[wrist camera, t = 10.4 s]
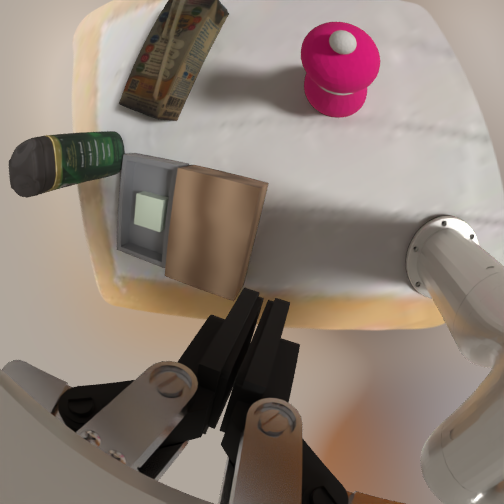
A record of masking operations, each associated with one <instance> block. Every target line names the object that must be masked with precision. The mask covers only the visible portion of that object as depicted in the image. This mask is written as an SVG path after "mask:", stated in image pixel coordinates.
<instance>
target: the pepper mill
mask: <svg viewBox="0 0 504 504" xmlns="http://www.w3.org/2000/svg"><path fill="white" fill-rule="evenodd" d="M301 60H302V64H303V67H304V69H305V71H306V76H305V81H304V90H305V94H306V97H307V99H308V101H309V102H310V104H311V105H312V106H313V107H314V108H315V109H316V110H318V111H319V112H320V113H322V114H325V115H327V116H331V117H347V116H350V115H352V114H354V113H356V112H357V111H358V110H359V109H360V108H361V107H362V105H363V104H364V102H365V99H366V95H367V87H368V86H369V85H370V84H371V83H372V82H373V81H374V79H375V78H376V77H377V74H378V72H379V67H380V56H379V52H378V49H377V47H376V45H375V43H374V41H373V40H372V39H371V37H370V36H369V35H368V34H367V33H365V32H364V31H363V30H361V29H360V28H358V27H356V26H354V25H351V24H348V23H343V22H329V23H325V24H322V25H319V26H317V27H315V28H314V29H312V30H311V31H310V32H309V33H308V35H307V36H306V37H305V39H304V41H303V43H302V48H301Z"/></svg>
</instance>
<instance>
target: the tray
mask: <svg viewBox="0 0 504 504" xmlns="http://www.w3.org/2000/svg"><path fill="white" fill-rule="evenodd" d="M186 166H188V163H183V162H178V161H174V160H169V159H164V158H158V157H153V156H148V155H142V154H137V153H132V154H124V155H123V162H122V171H121V181H120V193H119V207H118V227H117V250H120V251H122V252H125V253H127V254H130V255H132V256H135V257H137V258H140V259H143V260H145V261H148V262H150V263H153V264H155V265H158V266H161V267H163V268H165V267H166V256H167V246H168V236H169V227H170V219H171V211H172V204H173V197H174V190H175V183H176V177H177V170H178V168H181V167H186ZM142 191H146V192H150V193H154V194H158V195H161V196H165V197H169V199H168V207H167V215H166V223H165V230H163V231H161V232H158V231H155V230H152V229H148V228H145V227H142V226H139V225H136V224H134V218H135V205H136V194H137V193H139V192H142Z"/></svg>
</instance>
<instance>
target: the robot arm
mask: <svg viewBox="0 0 504 504" xmlns="http://www.w3.org/2000/svg"><path fill="white" fill-rule="evenodd" d="M442 221H443V223H442ZM441 223H442V224H441ZM415 246H416V247H415ZM414 247H415V248H414ZM406 271H407V274H408V278H409V280H410V282H411V284H412V285H413V287H414V288H415V290H417V291H418V292H419V293H420V294H421V295H423V296H425V297H428V298H431V299H433V301H434V303H435V304H436V306H437V308H438V310H439V312H440V313H441V315H442V317H443V319H444V321H445V323H446V325H447V327H448V328H449V331H450V333H451V335H452V337H453V338H454V340H455V342H456V344H457V346H458V348H459V350H460V352H461V353H462V355H463V356H464V357H465V358H466V359H467V360H468V361H470V362H471V363H473V364H475V365H478V366H481V367H487V368H492V370H491V372H490V373H489V374H488V376H487V377H486V378H485V380H484V381H483V382H482V383H481V384H480V385H479V387H478V388H477V389H476V391H475V392H474V393H473V394H472V395H471V396H470V397H469V398H468V399H467V400H466V401H465V402H464V403H463V404H462V405H461V406H460V407H459V408H458V409H457V410H456V411H454V412H453V413H452V414H451V415H450V416H449V417H448V418H447V419H446V420H445V421H444V422H442V423H441V424H440V425H439V426H438V427H437V428H436V429H435V430H434V431H433V432H432V434H431V435H430V436H429V438H428V439H427V441H426V442H425V444H424V446H423V449H422V453H421V470H422V474H423V477H424V479H425V481H426V484H427V485H428V487H429V488H430V490H431V491H432V492H433V493H434V495H435V496H436V497H437V498H438V499H439V500H440V501H441V502H443V503H444V504H504V266H503V265H502V264H501V263H500V262H498V261H497V260H496V259H495V258H494V257H492V256H491V255H490V254H489V253H488V252H486V251H485V250H484V249H483V248H481V247H480V246H479V242H478V239H477V236H476V234H475V232H474V230H473V229H472V228H471V227H470V225H469V224H468V223H466V222H465V221H463V220H461V219H459V218H457V217H453V216H441V217H438V218H435V219H433V220H431V221H429V222H427V223H426V224H425V225H423V226H422V227H421V228H420V229H419V231H418V232H417V233H416V234H415V236H414V237H413V239H412V241H411V243H410V245H409V248H408V252H407V256H406ZM416 282H417V283H416ZM258 296H259V292H256V291H253V290H250V289H247V288H244V289H243V290H242V292H241V294H240V296H239V297H238V299H237V301H236V302H235V304H234V306H233V307H232V309H231V311H230V312H229V314H228V316H227V317H226V319H222V318H220V317H217V316H214V315H210V316H209V317H208V319H207V320H206V322H205V323H204V325H203V326H202V328H201V329H200V330H199V332H198V334H197V335H196V336H195V338H194V339H193V341H192V342H191V343H190V345H189V346H188V348H187V349H186V351H185V352H184V353H183V355H182V356H181V358H180V359H179V361H178V362H172V361H162V362H159V363H155V364H153V365H152V366H150V367H149V368H148V369H147V370H146V371H144V372H143V373H142V374H141V375H140V376H139V377H138V378H137V379H136V380H131V381H124V382H116V383H107V384H98V385H87V386H77V387H70V386H68V383H67V382H65V381H63V380H61V379H58V378H56V377H54V376H52V375H50V374H48V373H46V372H44V371H42V370H40V369H38V368H36V367H34V366H32V365H30V364H28V363H27V362H24V361H21V360H13V361H11V362H9V363H7V364H6V365H5V366H4V368H3V369H2V370H1V369H0V504H214V503H211V502H208V501H205V500H202V499H199V498H196V497H194V496H191V495H189V494H186V493H183V492H181V491H179V490H176V489H174V488H171V487H169V486H167V485H164V484H163V483H160V482H158V480H159V479H160V478H161V477H162V476H163V474H164V473H165V472H166V471H167V469H168V468H169V467H170V466H171V464H172V463H173V462H174V460H175V459H176V458H177V457H178V456H179V454H180V453H181V452H182V451H183V449H184V448H185V446H186V445H187V444H188V442H189V440H192V439H195V438H199V437H201V436H202V434H206V432H207V429H208V427H211V428H214V429H215V427H216V425H217V423H218V420H219V417H220V416H221V413H222V411H223V409H224V407H225V405H226V402H227V400H228V398H229V395H230V393H231V396H230V399H229V402H228V405H227V409H226V412H225V415H224V418H223V421H222V424H221V427H220V431H222V432H225V434H224V437H223V440H222V443H221V446H222V447H223V449H224V451H225V452H226V454H227V455H228V458H227V462H226V467H225V472H224V477H223V482H222V487H221V493H220V497H219V502H218V504H406V503H401V502H396V501H391V500H387V499H383V498H379V497H375V496H371V495H368V494H364V493H361V492H357V491H355V492H354V493H352V492H349V491H346V490H345V488H344V487H343V485H342V484H341V483H340V482H339V481H338V480H337V479H336V477H335V476H334V475H333V474H332V473H331V472H330V471H329V469H328V468H327V467H326V466H325V465H324V464H323V463H322V461H321V460H320V459H319V458H318V457H317V455H316V454H315V453H314V452H313V451H312V450H311V448H310V447H309V446H308V445H307V443H306V442H305V441H304V440H303V438H302V419H301V416H300V414H299V412H298V411H297V409H296V408H295V407H293V406H292V405H291V404H289V403H288V402H289V397H290V393H291V388H292V383H293V378H294V374H295V368H296V363H297V358H298V353H299V347H300V345H299V344H297V343H294V342H291V341H288V340H285V339H281V335H282V331H283V328H284V324H285V320H286V317H287V313H288V309H289V305H290V302H287V301H284V300H281V299H278V298H275V300H274V301H270V300H268V302H267V304H266V307H265V309H264V312H263V314H262V317H261V319H260V322H259V324H258V326H257V329H256V331H255V334H254V336H253V333H254V329H255V326H256V323H257V320H258V316H259V313H260V310H261V306H262V303H263V299H264V298H261V297H258ZM252 336H253V339H252ZM251 339H252V341H251ZM250 342H251V343H250ZM231 391H232V392H231Z"/></svg>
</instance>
